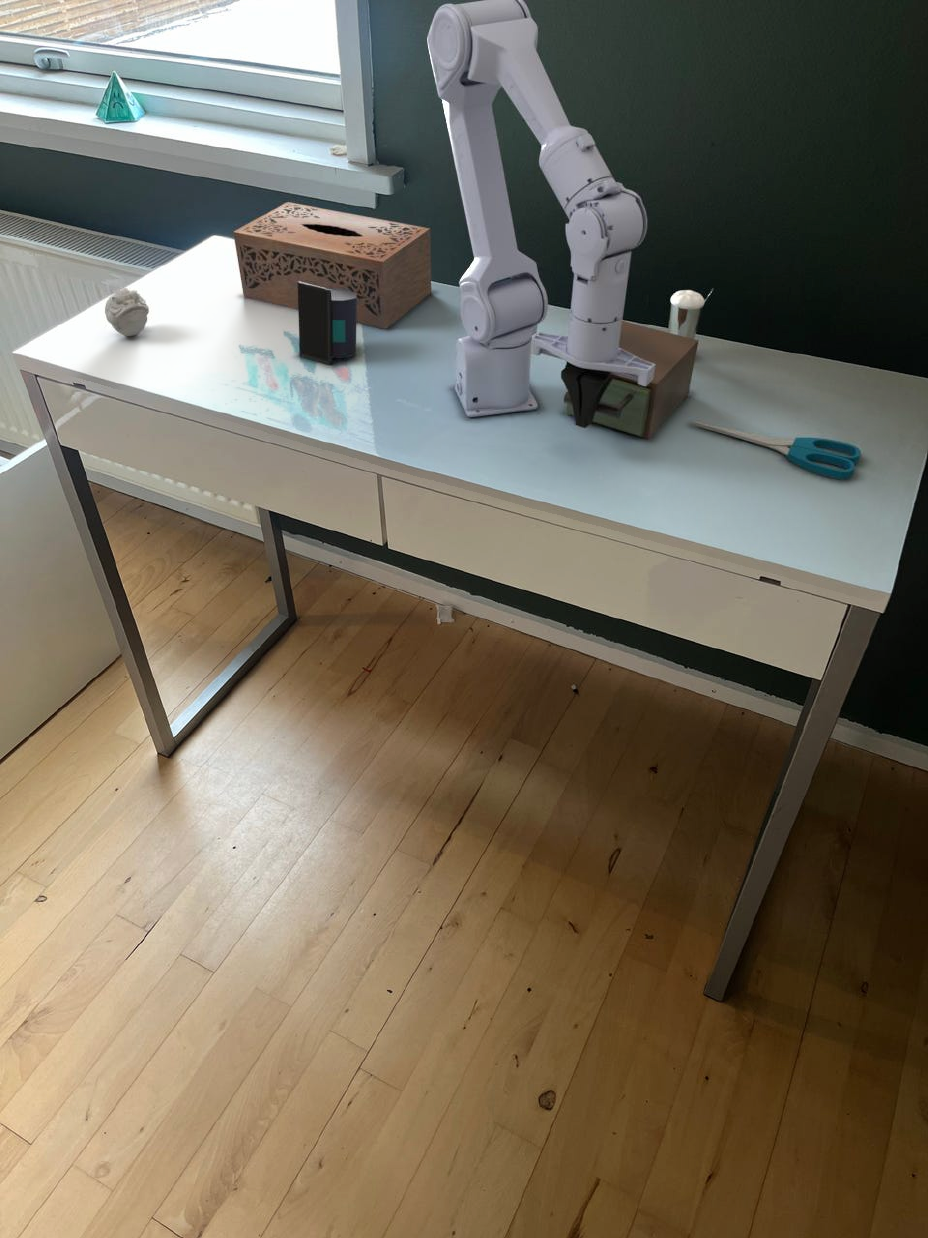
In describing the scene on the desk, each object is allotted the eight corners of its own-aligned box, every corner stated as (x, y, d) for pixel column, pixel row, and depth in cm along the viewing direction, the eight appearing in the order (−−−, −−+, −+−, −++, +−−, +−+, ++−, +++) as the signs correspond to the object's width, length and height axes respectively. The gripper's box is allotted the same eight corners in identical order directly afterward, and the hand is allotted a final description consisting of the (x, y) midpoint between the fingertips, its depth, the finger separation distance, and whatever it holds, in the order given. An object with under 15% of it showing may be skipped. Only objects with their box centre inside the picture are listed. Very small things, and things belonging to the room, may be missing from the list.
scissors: (851, 474, 107) (685, 432, 114) (849, 481, 107) (684, 438, 115) (863, 447, 111) (703, 407, 118) (861, 454, 112) (701, 414, 119)
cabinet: (648, 439, 114) (657, 383, 109) (566, 414, 119) (571, 359, 114) (688, 393, 123) (698, 340, 118) (610, 371, 127) (617, 319, 122)
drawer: (624, 454, 110) (630, 411, 106) (548, 430, 114) (552, 387, 110) (679, 393, 121) (686, 351, 117) (608, 373, 125) (613, 332, 121)
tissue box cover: (431, 292, 146) (429, 228, 139) (386, 329, 136) (382, 261, 130) (295, 263, 154) (287, 201, 147) (243, 296, 145) (233, 231, 138)
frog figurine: (123, 349, 132) (110, 302, 127) (103, 332, 136) (90, 285, 131) (162, 337, 134) (151, 290, 130) (142, 320, 138) (130, 274, 134)
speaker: (321, 369, 127) (317, 293, 120) (299, 356, 130) (294, 282, 124) (366, 358, 131) (365, 284, 125) (343, 345, 134) (341, 273, 128)
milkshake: (699, 364, 129) (713, 295, 122) (661, 361, 129) (672, 291, 123) (700, 350, 132) (713, 281, 125) (662, 346, 133) (673, 278, 126)
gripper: (673, 315, 100) (654, 425, 109) (555, 285, 106) (546, 392, 115) (646, 339, 95) (629, 452, 104) (524, 306, 101) (518, 416, 110)
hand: (584, 423), depth 109 cm, fingers closed, pressing on drawer
